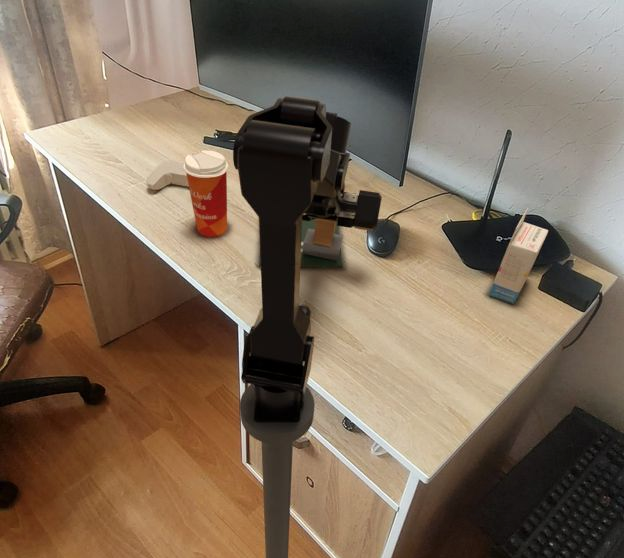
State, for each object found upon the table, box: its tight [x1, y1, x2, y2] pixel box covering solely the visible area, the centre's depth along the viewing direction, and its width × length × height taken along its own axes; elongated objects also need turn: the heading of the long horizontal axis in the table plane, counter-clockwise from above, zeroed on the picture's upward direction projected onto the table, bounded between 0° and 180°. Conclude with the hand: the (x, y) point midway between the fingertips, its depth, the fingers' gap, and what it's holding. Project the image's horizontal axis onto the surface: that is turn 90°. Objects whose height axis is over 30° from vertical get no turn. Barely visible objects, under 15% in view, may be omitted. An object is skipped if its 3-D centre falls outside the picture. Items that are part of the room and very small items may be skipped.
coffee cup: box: [183, 149, 229, 238], centre depth 101 cm, size 8×8×15 cm
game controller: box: [146, 160, 189, 191], centre depth 116 cm, size 14×4×10 cm
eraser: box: [302, 194, 344, 261], centre depth 97 cm, size 5×7×14 cm
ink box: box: [488, 207, 549, 305], centre depth 93 cm, size 8×5×15 cm, turn 150°
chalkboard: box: [258, 219, 344, 269], centre depth 108 cm, size 24×16×1 cm, turn 2°
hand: (328, 215), depth 98 cm, fingers closed on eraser, 3 cm apart
